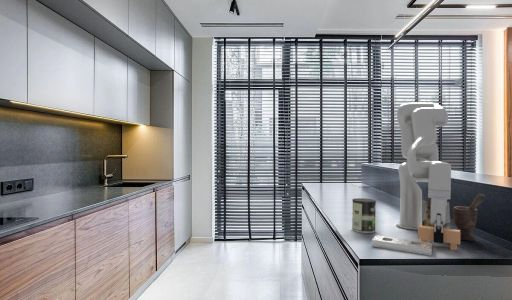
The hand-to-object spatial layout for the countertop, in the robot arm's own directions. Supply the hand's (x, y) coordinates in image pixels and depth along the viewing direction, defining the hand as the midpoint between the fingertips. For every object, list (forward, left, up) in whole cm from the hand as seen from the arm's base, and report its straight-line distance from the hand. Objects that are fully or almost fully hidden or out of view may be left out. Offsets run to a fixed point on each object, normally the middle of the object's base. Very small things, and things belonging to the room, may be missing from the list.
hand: (438, 240), depth 123 cm
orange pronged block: (0, 0, -2) cm, 2 cm away
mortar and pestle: (-19, +11, -3) cm, 22 cm away
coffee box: (-13, -1, -3) cm, 13 cm away
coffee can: (-10, -30, -3) cm, 32 cm away
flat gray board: (+10, -12, -2) cm, 16 cm away
